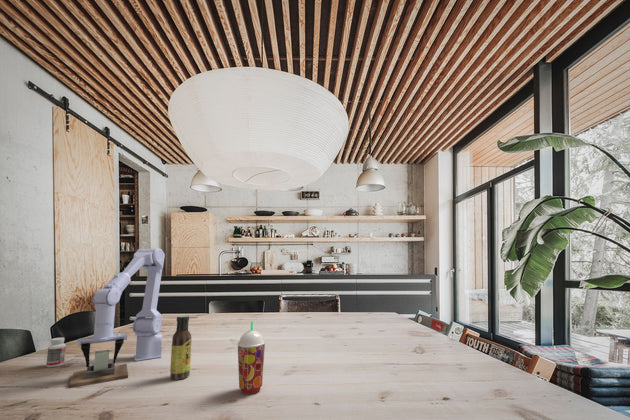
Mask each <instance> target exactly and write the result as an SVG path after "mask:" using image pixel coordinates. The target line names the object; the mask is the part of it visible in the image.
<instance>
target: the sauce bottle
mask: <svg viewBox="0 0 630 420" xmlns="http://www.w3.org/2000/svg"><path fill="white" fill-rule="evenodd" d="M189 321H190V315H187V314H185V315H184V314H183V315H182V314H181V315H177V316H176V330H175V332H174V334H173V335H172V340H171V351H170V355H171V356H170V370H169V371H170V375H169V376H170V377H169V378H170V379H171V380H183V379H186V378H188V377H189V376H190V373H191V356H192V334H191V332H190V331H189Z"/></svg>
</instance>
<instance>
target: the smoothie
mask: <svg viewBox="0 0 630 420" xmlns="http://www.w3.org/2000/svg"><path fill="white" fill-rule="evenodd" d="M253 328H254V321H253V320H251V321H250V330H248V331H246V332H244V333H243V334H242V335H241V336H240V339H239V340H238V342H237V359H238V360H237V361H238V363H237V364H238V365H237V366H238V387H239V389H240V392H241V393H243V394H245V395H253V394H257V393H259V392H260V391H261V387H262V386H263V379H264V378H263V376H264V363H265V348H266V347H265V346H266V341H265V340H264V337H263V335H262V334H261V333H260V332H259V331H257V330H254V329H253Z"/></svg>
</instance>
